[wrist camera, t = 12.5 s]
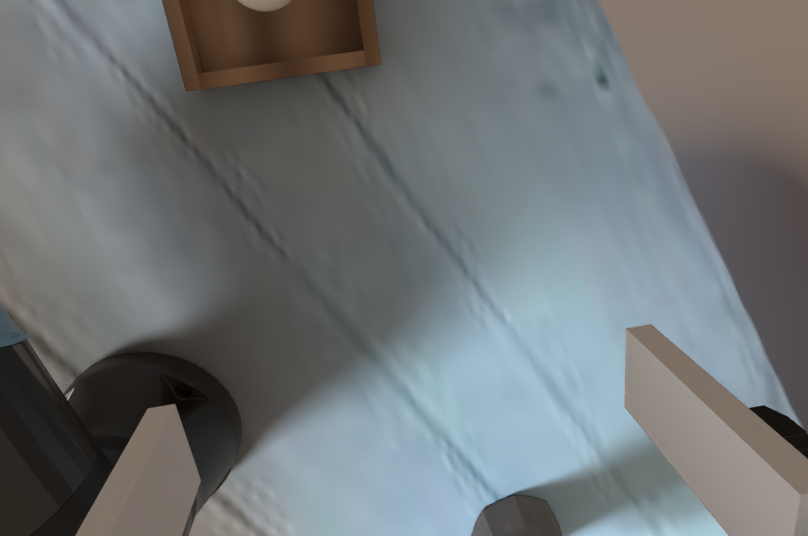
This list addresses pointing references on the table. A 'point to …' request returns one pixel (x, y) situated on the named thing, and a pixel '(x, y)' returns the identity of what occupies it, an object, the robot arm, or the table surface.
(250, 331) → the table surface
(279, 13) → the caddy
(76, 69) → the table surface
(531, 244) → the table surface
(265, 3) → the white ball
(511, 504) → the coffeepot
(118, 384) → the robot arm
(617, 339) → the table surface
